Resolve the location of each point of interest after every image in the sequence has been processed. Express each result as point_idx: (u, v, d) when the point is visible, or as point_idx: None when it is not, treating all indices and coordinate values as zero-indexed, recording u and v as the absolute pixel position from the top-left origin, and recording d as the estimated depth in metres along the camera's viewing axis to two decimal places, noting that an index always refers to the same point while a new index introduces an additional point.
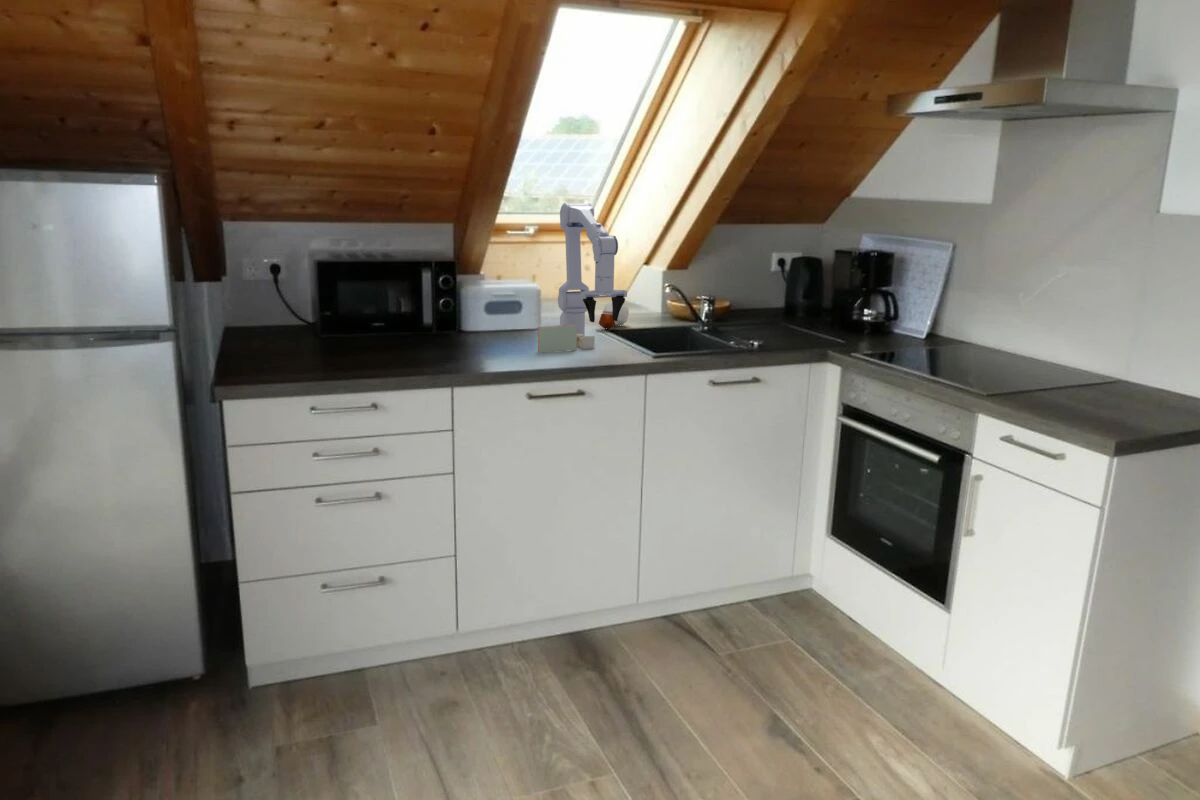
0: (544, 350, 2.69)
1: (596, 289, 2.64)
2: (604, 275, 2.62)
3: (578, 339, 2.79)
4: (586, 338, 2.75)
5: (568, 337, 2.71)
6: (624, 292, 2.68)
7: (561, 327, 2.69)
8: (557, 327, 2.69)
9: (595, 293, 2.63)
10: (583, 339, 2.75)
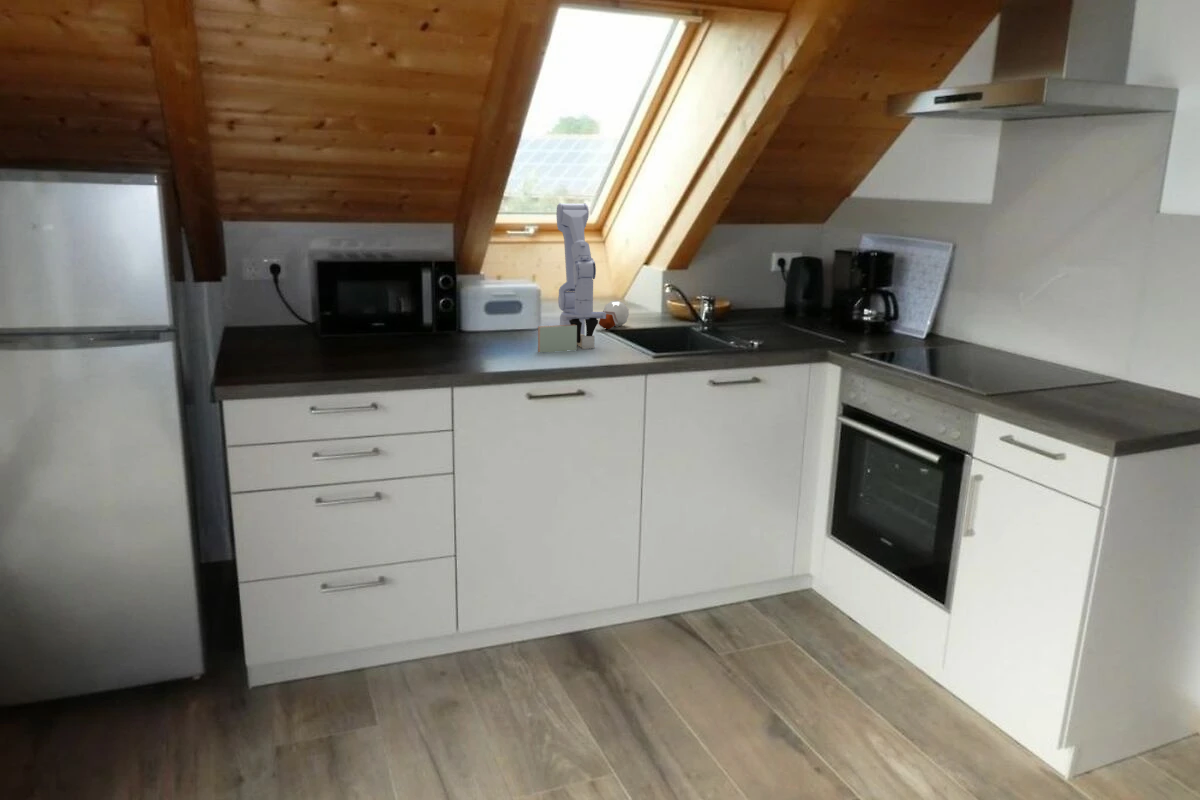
0: (544, 350, 2.69)
1: (576, 311, 2.75)
2: (582, 298, 2.73)
3: None
4: (586, 338, 2.75)
5: (568, 337, 2.71)
6: (603, 314, 2.79)
7: (561, 327, 2.69)
8: (557, 327, 2.69)
9: (575, 315, 2.74)
10: (583, 339, 2.75)
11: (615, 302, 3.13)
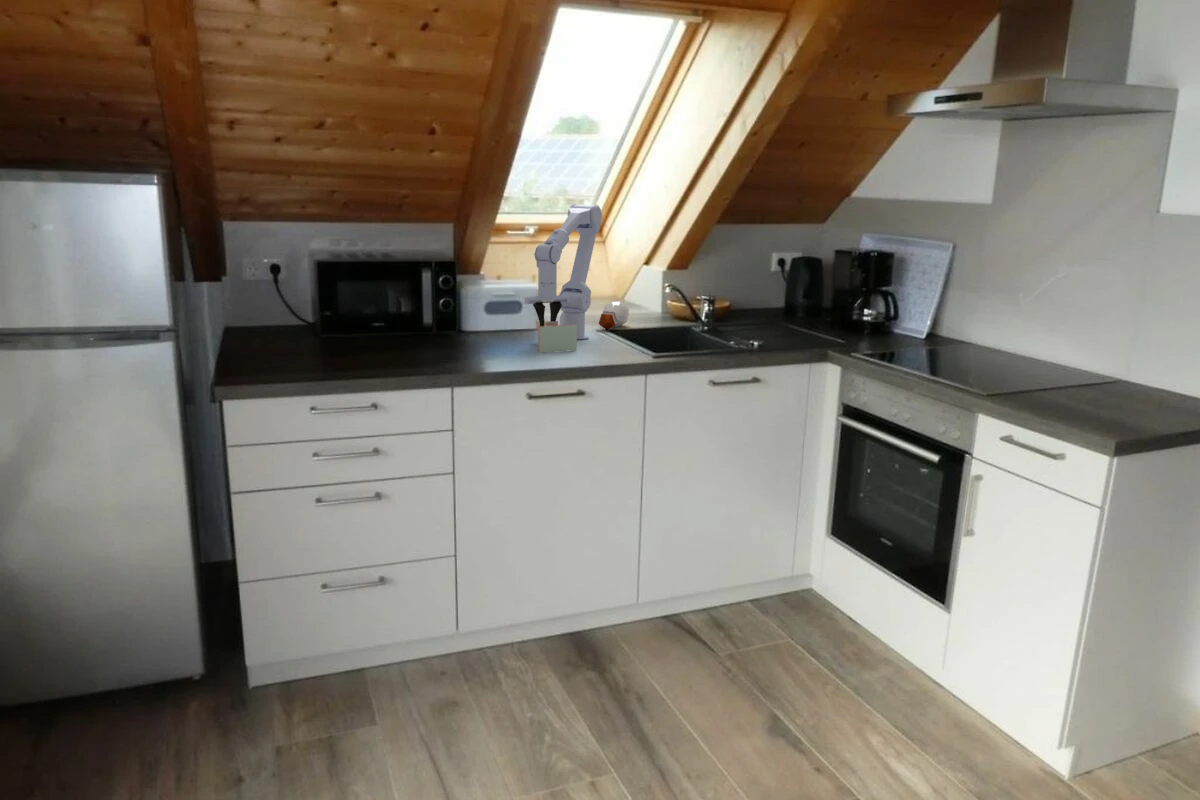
0: (544, 350, 2.69)
1: (539, 295, 2.74)
2: (539, 281, 2.73)
3: None
4: (549, 323, 2.74)
5: (568, 337, 2.71)
6: (567, 298, 2.78)
7: (561, 327, 2.69)
8: (557, 327, 2.69)
9: (538, 299, 2.73)
10: (546, 324, 2.74)
11: (615, 302, 3.13)
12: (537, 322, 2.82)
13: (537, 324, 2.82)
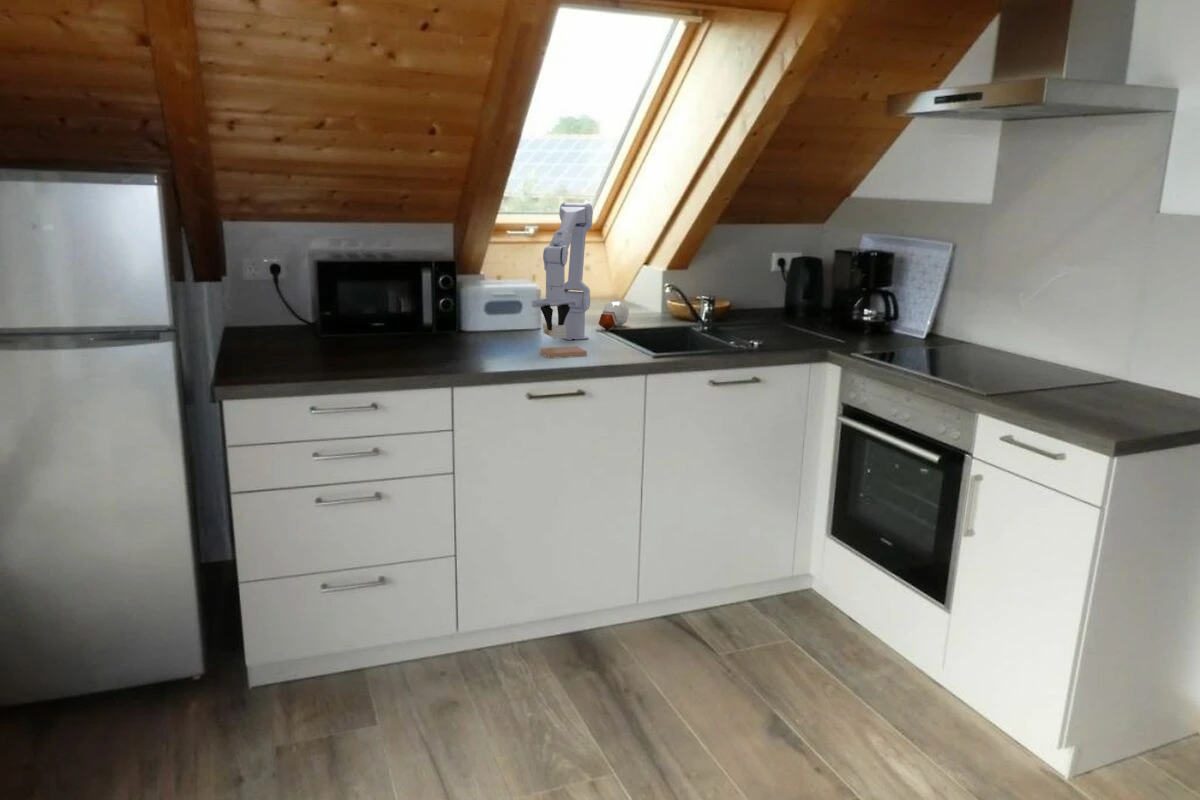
0: None
1: (547, 298, 2.68)
2: (549, 284, 2.66)
3: None
4: (557, 327, 2.68)
5: None
6: (575, 301, 2.72)
7: None
8: None
9: (545, 302, 2.67)
10: (554, 328, 2.68)
11: (615, 302, 3.13)
12: (544, 326, 2.76)
13: (544, 328, 2.76)
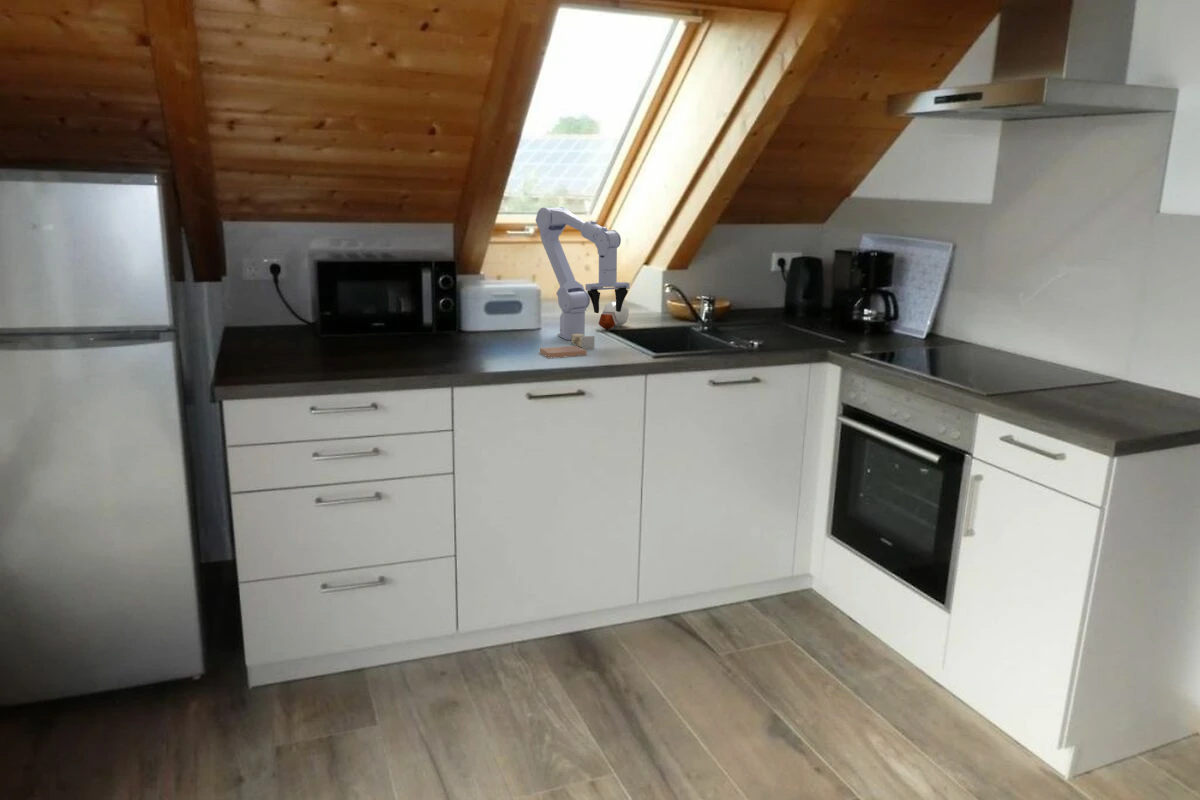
0: None
1: (600, 281, 2.78)
2: (611, 268, 2.76)
3: (578, 339, 2.79)
4: (586, 338, 2.75)
5: None
6: (627, 284, 2.81)
7: None
8: None
9: (599, 285, 2.76)
10: (583, 339, 2.75)
11: (615, 302, 3.13)
12: (573, 336, 2.83)
13: (573, 338, 2.83)
